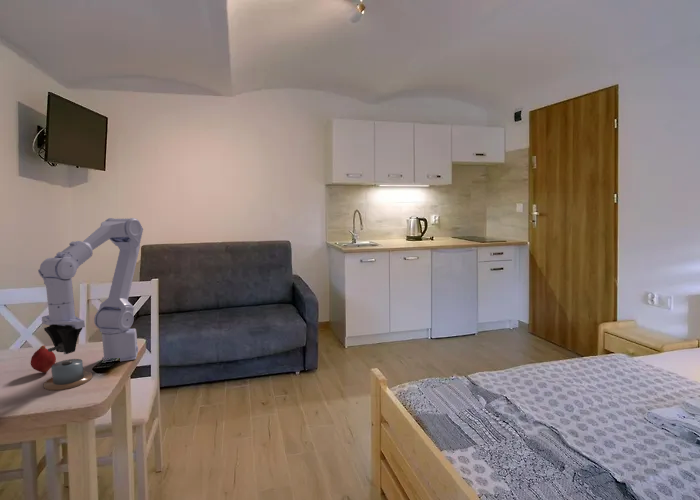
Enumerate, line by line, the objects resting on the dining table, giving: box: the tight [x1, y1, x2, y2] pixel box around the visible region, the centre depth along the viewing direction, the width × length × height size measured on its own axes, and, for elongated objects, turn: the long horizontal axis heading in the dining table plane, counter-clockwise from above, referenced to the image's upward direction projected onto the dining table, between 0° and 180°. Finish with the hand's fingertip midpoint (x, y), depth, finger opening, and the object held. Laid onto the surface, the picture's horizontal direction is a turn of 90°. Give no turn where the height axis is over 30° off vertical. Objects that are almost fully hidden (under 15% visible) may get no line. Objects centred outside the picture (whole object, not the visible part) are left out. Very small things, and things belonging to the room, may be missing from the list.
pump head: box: [47, 342, 67, 355], centre depth 112 cm, size 5×5×3 cm
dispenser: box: [43, 358, 93, 391], centre depth 114 cm, size 11×11×6 cm
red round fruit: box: [30, 345, 57, 374], centre depth 120 cm, size 6×6×8 cm
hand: (65, 351), depth 113 cm, fingers closed on pump head, 3 cm apart
